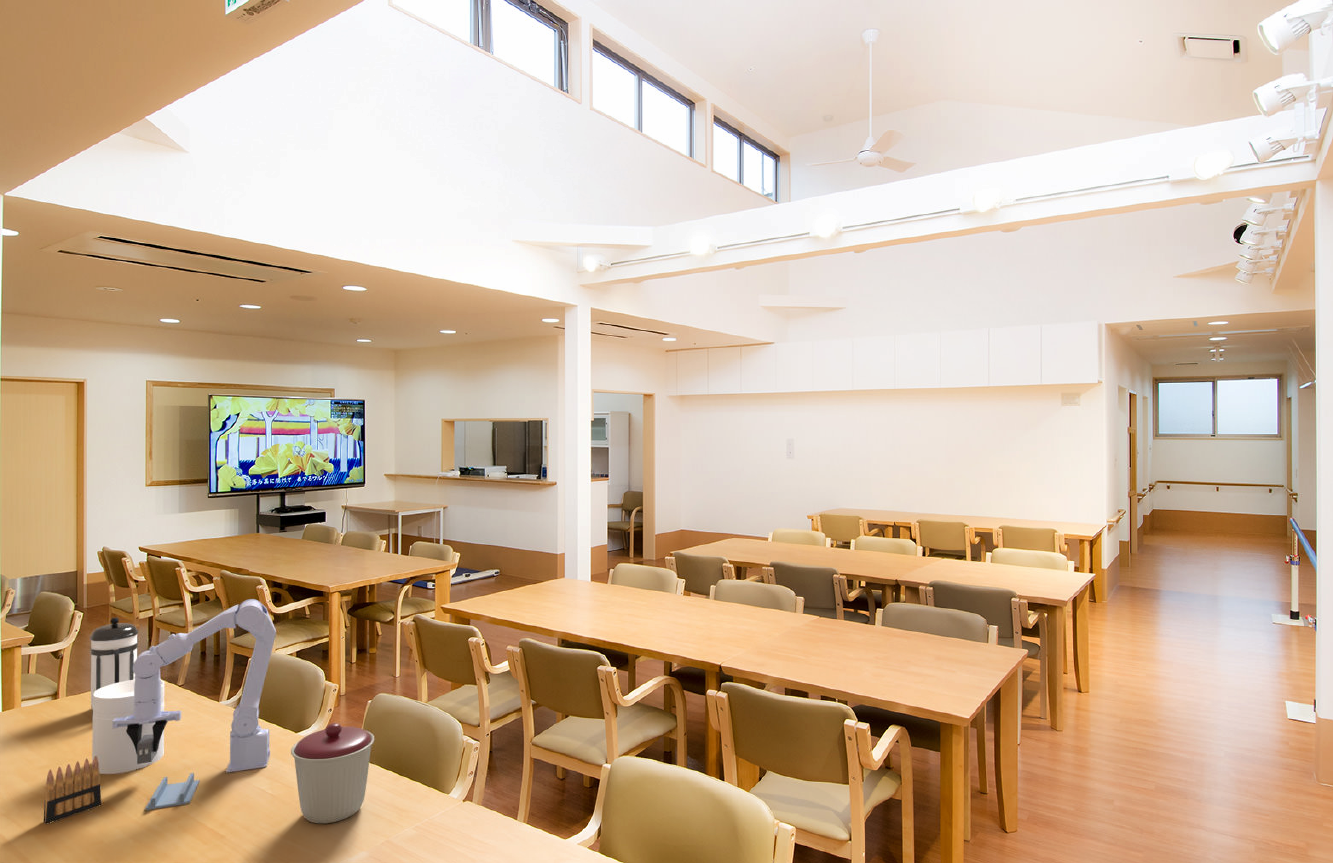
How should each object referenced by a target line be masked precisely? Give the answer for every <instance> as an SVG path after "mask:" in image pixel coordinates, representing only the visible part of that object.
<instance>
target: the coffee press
mask: <svg viewBox="0 0 1333 863" xmlns="http://www.w3.org/2000/svg"><path fill="white" fill-rule="evenodd" d="M119 621H120V619H119V618H118V617H112V618H111V620H110V621H109V622H110V623H111V624H106V625H105V624H104V625H102V626H99V627H97V628H95V629H94V630H93V631H92V632H91V635H89V640H90V642H91V643H90V644H91V646H90V651H89V652H90V659H91V660H90V661H91V662H90V706H91V709H92V710H93V693H94V692H95V691H96V690H98V689H100V688H102V687H105V686H108V685H111V684H115V683H119V682H124V681H129V680H135V674H134V672H133V664H134V662H135V661H136V659H137V658H138V647H139V641H138V635H139V633H140V632H139V629H138V628H137V626H136V625H134V624H133V623H127V622H126V623H125V622H123V623H122V622H119Z"/></svg>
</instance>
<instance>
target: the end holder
mask: <svg viewBox="0 0 1333 863" xmlns="http://www.w3.org/2000/svg"><path fill="white" fill-rule="evenodd" d="M199 784H200V779H196V780H195V772H191V773H189V776H188V778H187V779H186V781H183V782H177V783H175V782H174V783H169V784H168V776H164V777H163V778H162V780H161V781H160V783H159V785H158V786H157V787H156V788H155V791H154V793H153V794H152V796H151V797H150V800H149V801H148V802H147V804H146V806H145V808H144V810H146V811H150V810H151V809H152V810H156V808H158V809H165V808H170V807H176V806H181V805H182V804H183V805H188V804H187V803H189V804H190V803H191V800H192V799H193V796H194V795H195V793H194V792H196V791H197V788H198V786H199ZM197 785H198V786H197ZM195 790H196V791H195Z"/></svg>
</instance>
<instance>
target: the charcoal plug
mask: <svg viewBox="0 0 1333 863" xmlns="http://www.w3.org/2000/svg"><path fill="white" fill-rule="evenodd" d="M153 741H154V739H153V734H151V735H144V736H143V737H142V739H141V740H140V741H139V743H138V744H137V764H141V763H148V762H152V760H153V759H154V757H155V755H156V754H157V751H156V752H153Z"/></svg>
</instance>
